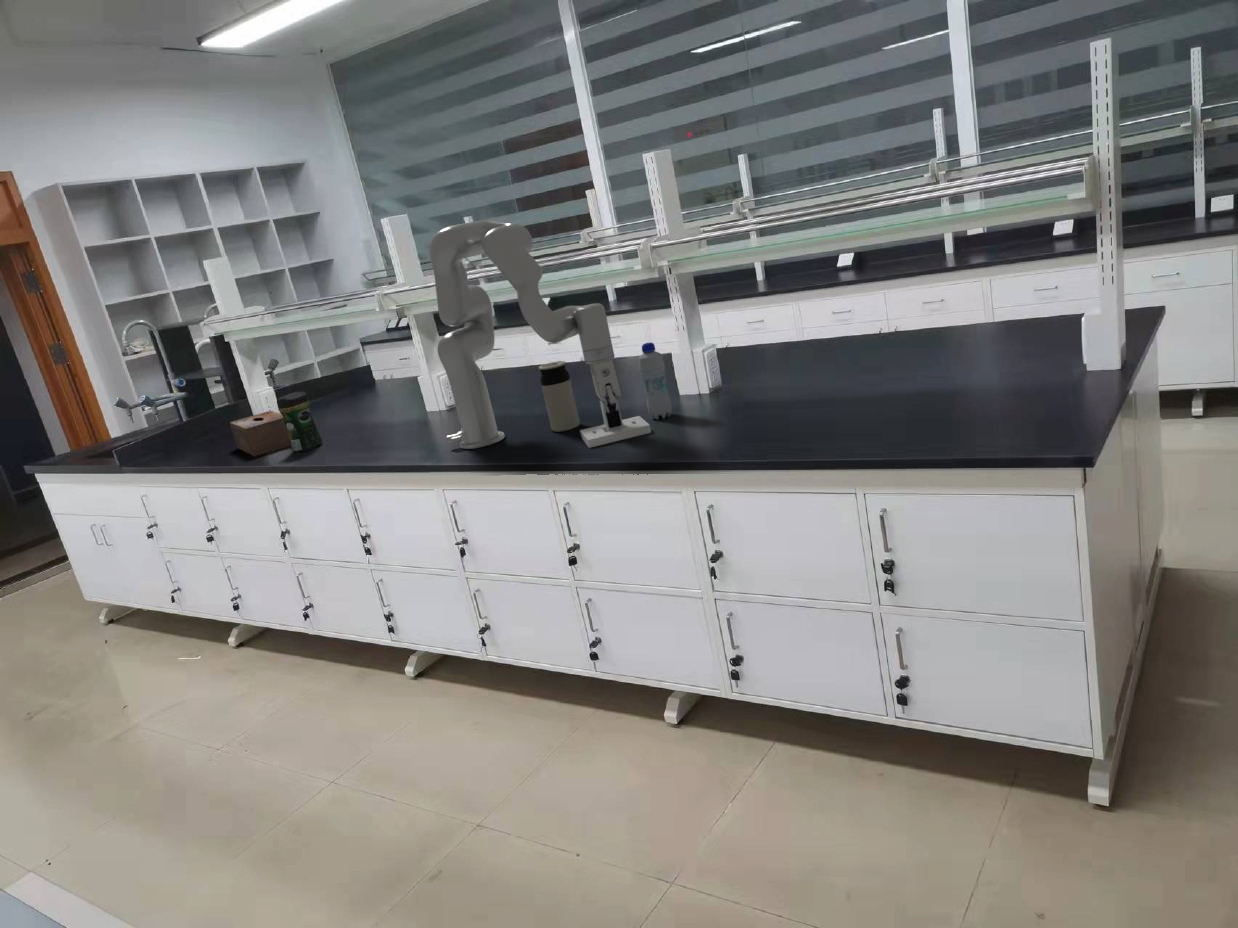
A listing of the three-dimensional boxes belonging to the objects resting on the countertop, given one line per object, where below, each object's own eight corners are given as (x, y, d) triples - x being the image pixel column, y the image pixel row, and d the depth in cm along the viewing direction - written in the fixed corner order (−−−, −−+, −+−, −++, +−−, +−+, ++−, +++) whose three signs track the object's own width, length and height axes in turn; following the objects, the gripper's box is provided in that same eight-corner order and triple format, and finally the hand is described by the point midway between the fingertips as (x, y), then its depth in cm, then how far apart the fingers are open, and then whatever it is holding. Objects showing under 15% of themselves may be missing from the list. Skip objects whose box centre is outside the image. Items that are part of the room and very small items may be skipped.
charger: (608, 434, 221) (602, 403, 219) (605, 431, 225) (599, 400, 223) (624, 430, 222) (617, 399, 220) (620, 427, 226) (614, 397, 223)
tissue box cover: (238, 449, 314) (229, 422, 311) (278, 436, 322) (270, 410, 319) (255, 457, 293) (245, 428, 290) (297, 444, 301) (288, 416, 298)
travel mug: (553, 434, 238) (539, 369, 233) (550, 428, 246) (535, 365, 241) (582, 427, 239) (568, 363, 234) (577, 421, 247) (564, 359, 242)
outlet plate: (589, 447, 217) (587, 439, 216) (581, 437, 228) (579, 429, 228) (651, 432, 219) (649, 424, 219) (640, 423, 231) (639, 415, 230)
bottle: (656, 413, 237) (642, 341, 231) (678, 412, 233) (664, 338, 228) (644, 421, 232) (629, 347, 226) (666, 420, 228) (652, 344, 222)
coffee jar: (311, 443, 295) (294, 390, 290) (326, 443, 290) (310, 388, 285) (287, 453, 287) (270, 398, 282) (303, 452, 283) (285, 397, 278)
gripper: (619, 355, 211) (634, 428, 216) (607, 347, 226) (621, 415, 232) (589, 362, 210) (605, 435, 215) (578, 353, 225) (593, 422, 231)
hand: (613, 424), depth 223 cm, fingers closed on charger, 4 cm apart
